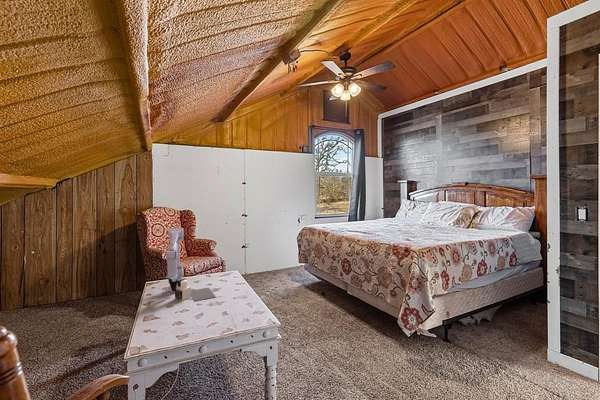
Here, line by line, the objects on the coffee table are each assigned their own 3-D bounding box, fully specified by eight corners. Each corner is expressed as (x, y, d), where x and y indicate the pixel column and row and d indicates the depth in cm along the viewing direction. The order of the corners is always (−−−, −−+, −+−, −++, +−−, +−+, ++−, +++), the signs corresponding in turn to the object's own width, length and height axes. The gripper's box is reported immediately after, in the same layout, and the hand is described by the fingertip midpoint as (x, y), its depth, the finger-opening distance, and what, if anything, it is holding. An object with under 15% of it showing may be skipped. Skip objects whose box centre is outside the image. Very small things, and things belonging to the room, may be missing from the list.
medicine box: (174, 299, 181) (174, 281, 180) (183, 295, 187) (183, 277, 186) (182, 301, 177) (181, 282, 177) (191, 297, 184) (190, 279, 183)
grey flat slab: (189, 291, 194) (189, 291, 193) (208, 288, 200) (208, 287, 200) (194, 301, 176) (194, 300, 176) (215, 297, 183) (215, 296, 183)
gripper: (164, 267, 186) (165, 287, 186) (166, 272, 173) (167, 294, 174) (176, 265, 189) (176, 285, 190) (178, 270, 177) (179, 291, 177)
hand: (173, 289), depth 182 cm, fingers open, 7 cm apart
